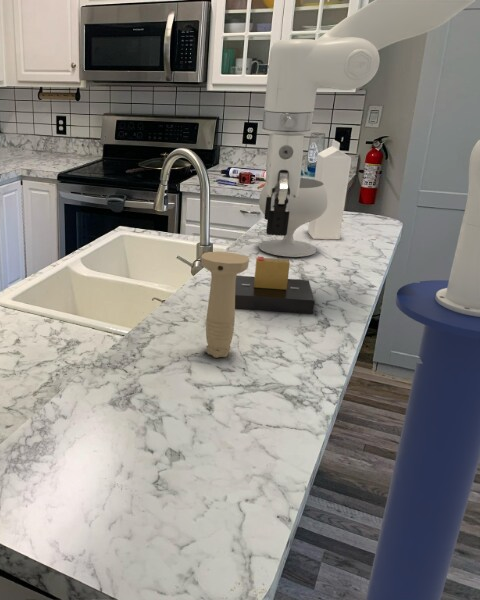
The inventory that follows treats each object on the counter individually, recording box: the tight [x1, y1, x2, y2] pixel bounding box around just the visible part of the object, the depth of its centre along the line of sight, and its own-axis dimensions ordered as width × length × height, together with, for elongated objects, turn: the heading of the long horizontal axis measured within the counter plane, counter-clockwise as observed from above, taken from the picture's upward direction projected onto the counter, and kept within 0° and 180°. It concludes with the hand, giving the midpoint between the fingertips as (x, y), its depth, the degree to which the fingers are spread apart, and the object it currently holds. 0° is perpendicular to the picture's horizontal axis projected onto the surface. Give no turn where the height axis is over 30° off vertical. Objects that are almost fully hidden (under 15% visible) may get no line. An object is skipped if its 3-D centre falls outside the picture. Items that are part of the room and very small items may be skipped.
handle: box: [200, 251, 250, 359], centre depth 88 cm, size 5×6×15 cm
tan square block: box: [254, 255, 291, 290], centre depth 107 cm, size 6×2×5 cm, turn 76°
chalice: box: [258, 177, 327, 258], centre depth 133 cm, size 14×14×15 cm
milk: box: [307, 139, 352, 240], centre depth 141 cm, size 6×6×22 cm
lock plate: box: [235, 275, 315, 315], centre depth 109 cm, size 14×10×3 cm
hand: (274, 226), depth 104 cm, fingers open, 9 cm apart
